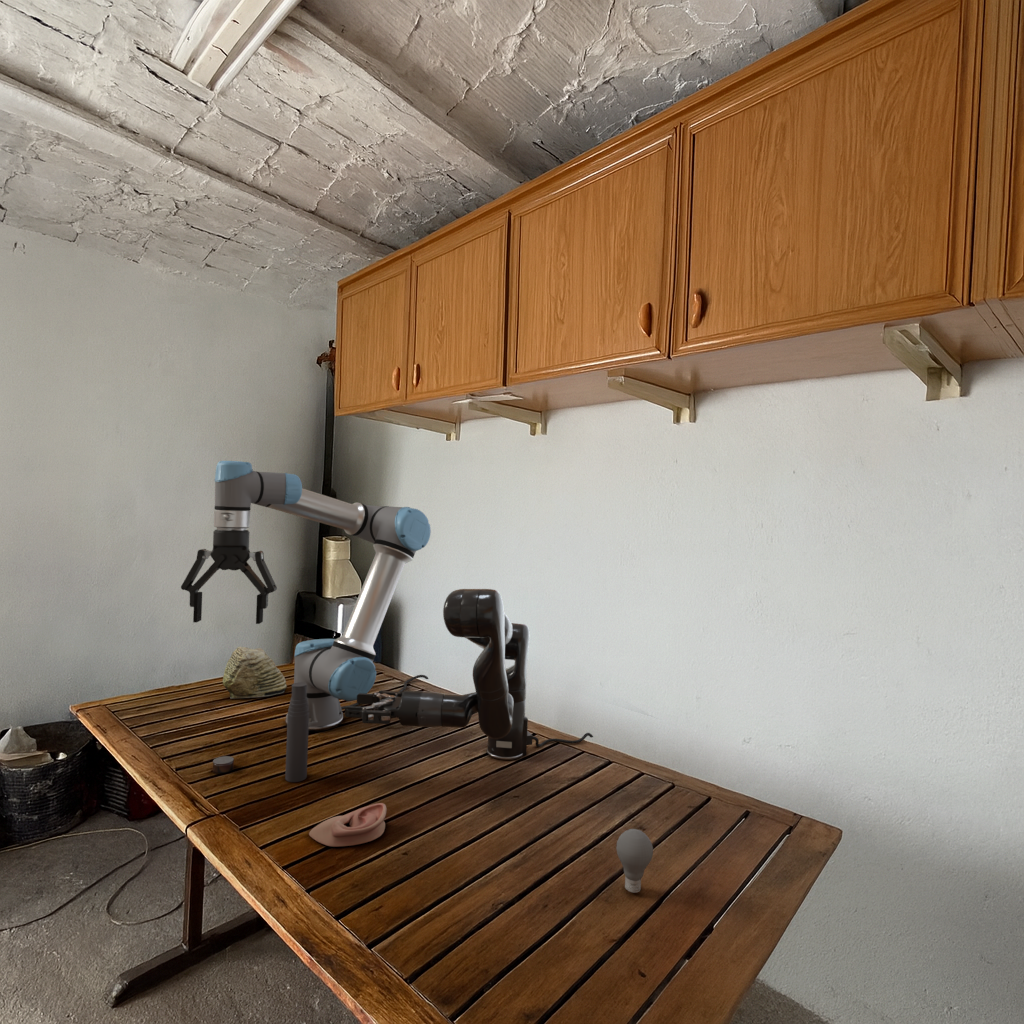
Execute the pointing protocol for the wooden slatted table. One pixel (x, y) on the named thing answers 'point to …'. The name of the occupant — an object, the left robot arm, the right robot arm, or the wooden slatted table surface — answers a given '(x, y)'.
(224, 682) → the fossil
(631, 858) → the light bulb
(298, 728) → the bottle
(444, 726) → the right robot arm
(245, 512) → the left robot arm
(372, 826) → the anatomical model
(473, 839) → the wooden slatted table surface
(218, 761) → the cap
